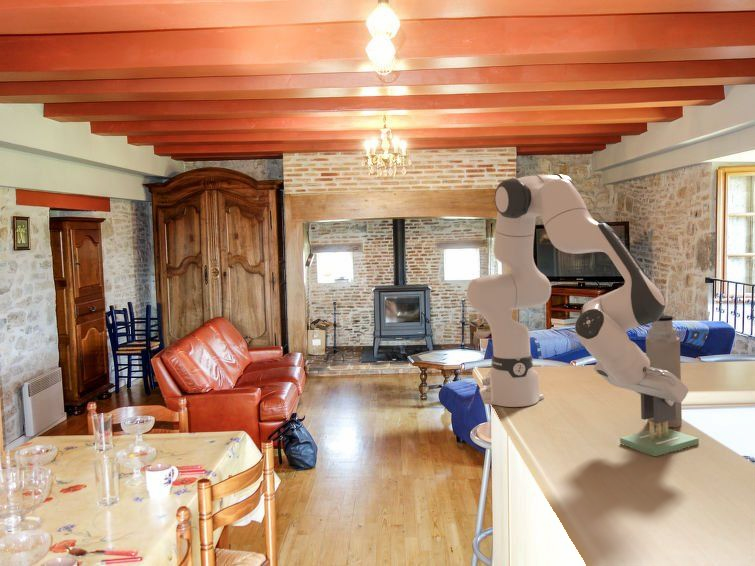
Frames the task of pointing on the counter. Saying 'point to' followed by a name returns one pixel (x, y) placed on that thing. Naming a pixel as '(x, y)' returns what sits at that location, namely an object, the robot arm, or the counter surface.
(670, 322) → the thermos bottle
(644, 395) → the block
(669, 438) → the header board
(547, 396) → the counter surface
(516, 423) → the counter surface
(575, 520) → the counter surface
